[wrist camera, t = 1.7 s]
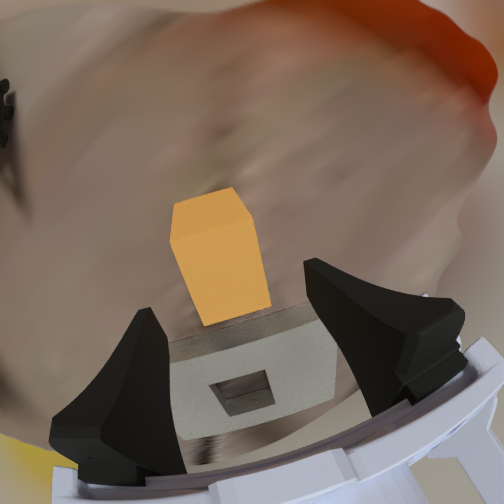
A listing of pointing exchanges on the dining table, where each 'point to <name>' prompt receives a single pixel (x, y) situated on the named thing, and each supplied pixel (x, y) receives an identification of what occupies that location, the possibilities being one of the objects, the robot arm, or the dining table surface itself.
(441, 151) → the dining table surface
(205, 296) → the orange rectangular block
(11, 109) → the valve
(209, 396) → the grey plate with hole
